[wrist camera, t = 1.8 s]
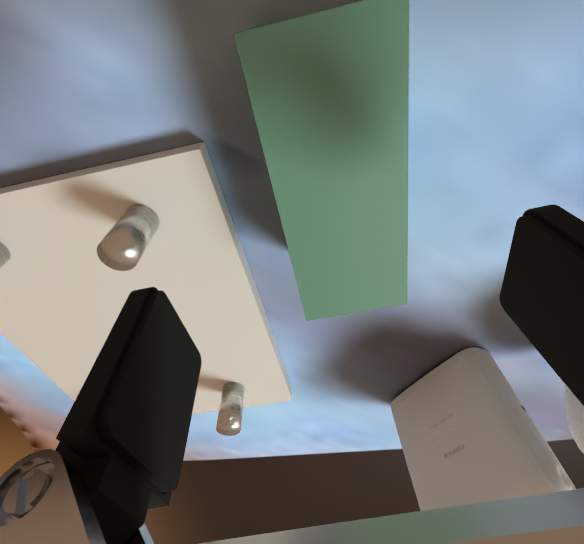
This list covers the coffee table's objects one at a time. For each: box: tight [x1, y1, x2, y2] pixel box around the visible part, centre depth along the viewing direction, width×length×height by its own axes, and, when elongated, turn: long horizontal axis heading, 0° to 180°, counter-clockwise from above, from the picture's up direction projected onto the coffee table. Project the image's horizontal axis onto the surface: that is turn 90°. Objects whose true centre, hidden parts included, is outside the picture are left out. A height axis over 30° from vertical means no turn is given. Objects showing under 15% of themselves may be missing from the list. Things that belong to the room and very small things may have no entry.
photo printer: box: [391, 347, 576, 511], centre depth 25 cm, size 10×4×12 cm, turn 147°
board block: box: [234, 0, 409, 321], centre depth 15 cm, size 5×12×6 cm, turn 12°
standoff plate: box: [0, 142, 292, 436], centre depth 23 cm, size 18×22×5 cm
